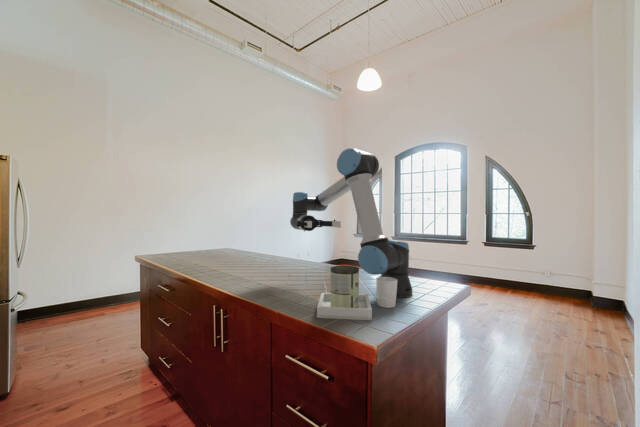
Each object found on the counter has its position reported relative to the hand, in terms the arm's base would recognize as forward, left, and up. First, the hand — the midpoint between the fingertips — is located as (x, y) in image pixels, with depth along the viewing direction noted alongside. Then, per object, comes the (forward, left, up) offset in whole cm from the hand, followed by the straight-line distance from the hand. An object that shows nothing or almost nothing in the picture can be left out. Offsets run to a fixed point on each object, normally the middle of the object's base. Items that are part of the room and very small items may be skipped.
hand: (325, 224), depth 122 cm
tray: (-8, +18, -30) cm, 36 cm away
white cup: (-24, +10, -30) cm, 40 cm away
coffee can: (-8, +18, -29) cm, 35 cm away
